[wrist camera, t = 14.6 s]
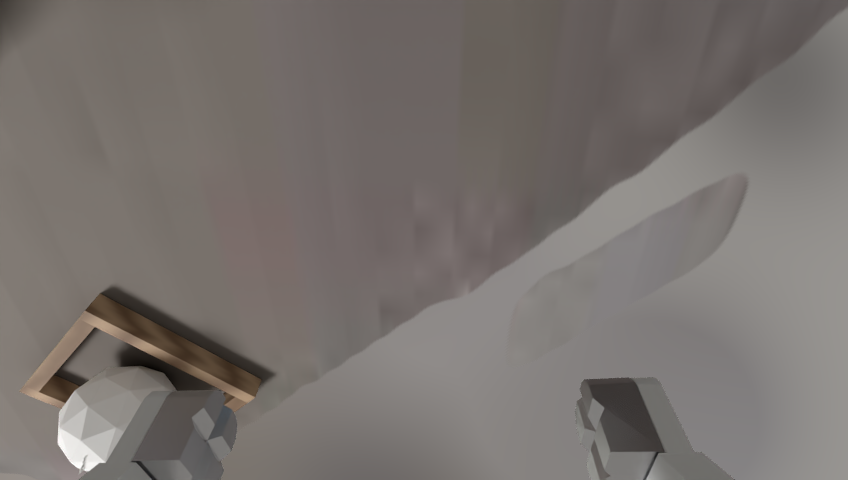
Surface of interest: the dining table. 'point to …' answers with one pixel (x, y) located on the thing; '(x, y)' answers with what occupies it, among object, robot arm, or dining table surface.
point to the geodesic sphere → (104, 412)
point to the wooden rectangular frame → (148, 339)
